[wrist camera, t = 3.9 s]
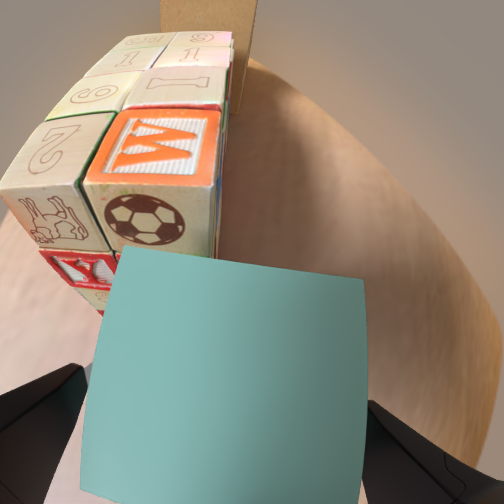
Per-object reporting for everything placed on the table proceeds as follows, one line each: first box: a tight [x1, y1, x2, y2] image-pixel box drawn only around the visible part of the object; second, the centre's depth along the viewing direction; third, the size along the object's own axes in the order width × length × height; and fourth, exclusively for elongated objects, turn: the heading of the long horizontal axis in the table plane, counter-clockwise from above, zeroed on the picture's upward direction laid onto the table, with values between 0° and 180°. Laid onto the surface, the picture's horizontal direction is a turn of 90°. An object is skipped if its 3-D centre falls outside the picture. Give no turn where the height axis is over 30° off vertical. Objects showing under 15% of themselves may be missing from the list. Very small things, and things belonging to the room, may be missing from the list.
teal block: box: [80, 245, 368, 504], centre depth 9 cm, size 5×5×12 cm
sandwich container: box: [160, 0, 258, 115], centre depth 25 cm, size 9×15×15 cm, turn 0°
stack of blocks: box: [0, 31, 234, 316], centre depth 16 cm, size 21×6×12 cm, turn 0°
